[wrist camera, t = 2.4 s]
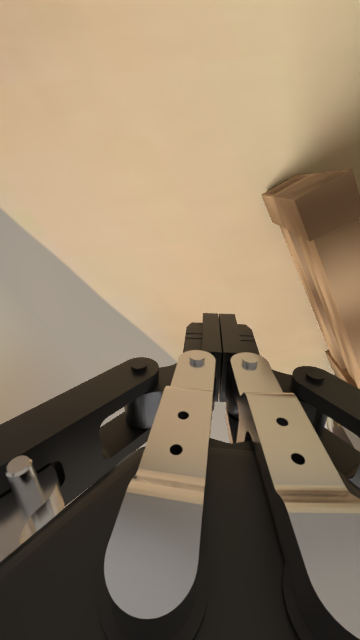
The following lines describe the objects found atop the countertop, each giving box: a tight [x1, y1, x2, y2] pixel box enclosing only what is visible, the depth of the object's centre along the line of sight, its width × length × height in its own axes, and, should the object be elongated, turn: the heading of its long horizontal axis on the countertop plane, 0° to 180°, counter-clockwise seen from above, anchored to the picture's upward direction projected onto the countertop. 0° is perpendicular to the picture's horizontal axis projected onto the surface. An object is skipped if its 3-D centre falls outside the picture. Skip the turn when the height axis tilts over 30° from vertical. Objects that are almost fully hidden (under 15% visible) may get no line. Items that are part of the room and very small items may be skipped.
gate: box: [262, 169, 360, 389], centre depth 18 cm, size 16×2×8 cm, turn 30°
